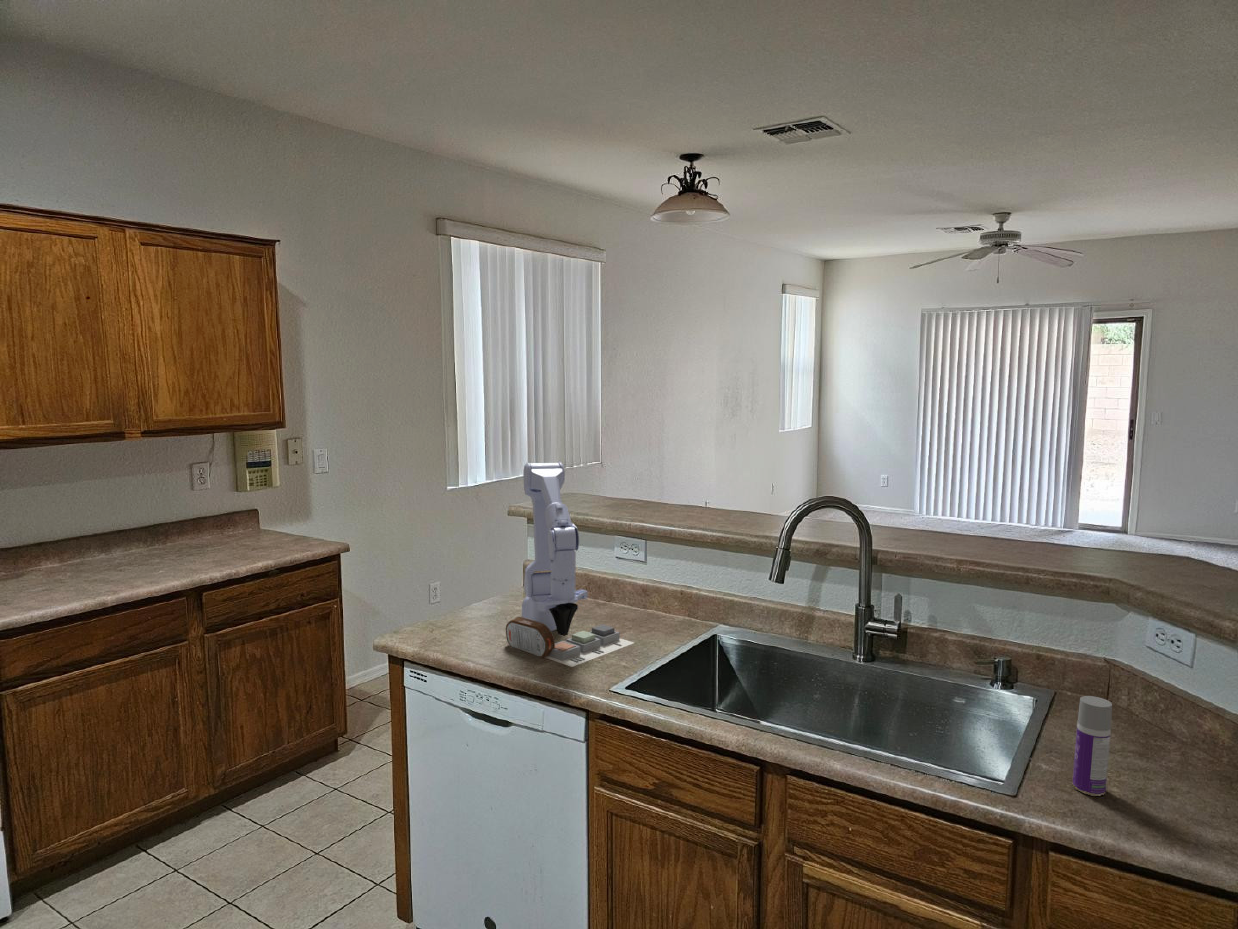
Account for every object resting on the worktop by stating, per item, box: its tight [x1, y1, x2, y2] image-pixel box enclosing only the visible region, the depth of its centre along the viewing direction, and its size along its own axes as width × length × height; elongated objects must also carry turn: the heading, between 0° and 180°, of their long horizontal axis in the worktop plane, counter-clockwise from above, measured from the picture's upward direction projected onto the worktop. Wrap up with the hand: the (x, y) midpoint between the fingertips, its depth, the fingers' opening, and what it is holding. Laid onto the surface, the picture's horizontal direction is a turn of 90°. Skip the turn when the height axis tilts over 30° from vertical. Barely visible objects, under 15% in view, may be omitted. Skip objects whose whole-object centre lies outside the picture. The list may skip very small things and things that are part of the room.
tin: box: [505, 616, 556, 659], centre depth 186 cm, size 15×3×8 cm, turn 48°
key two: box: [571, 630, 595, 644], centre depth 189 cm, size 4×4×2 cm
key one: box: [591, 623, 616, 637], centre depth 194 cm, size 4×4×2 cm
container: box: [1072, 695, 1113, 794], centre depth 127 cm, size 5×5×15 cm
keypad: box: [544, 630, 635, 668], centre depth 188 cm, size 12×22×3 cm, turn 139°
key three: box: [554, 641, 575, 651], centre depth 184 cm, size 4×4×2 cm
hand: (562, 634), depth 183 cm, fingers closed
